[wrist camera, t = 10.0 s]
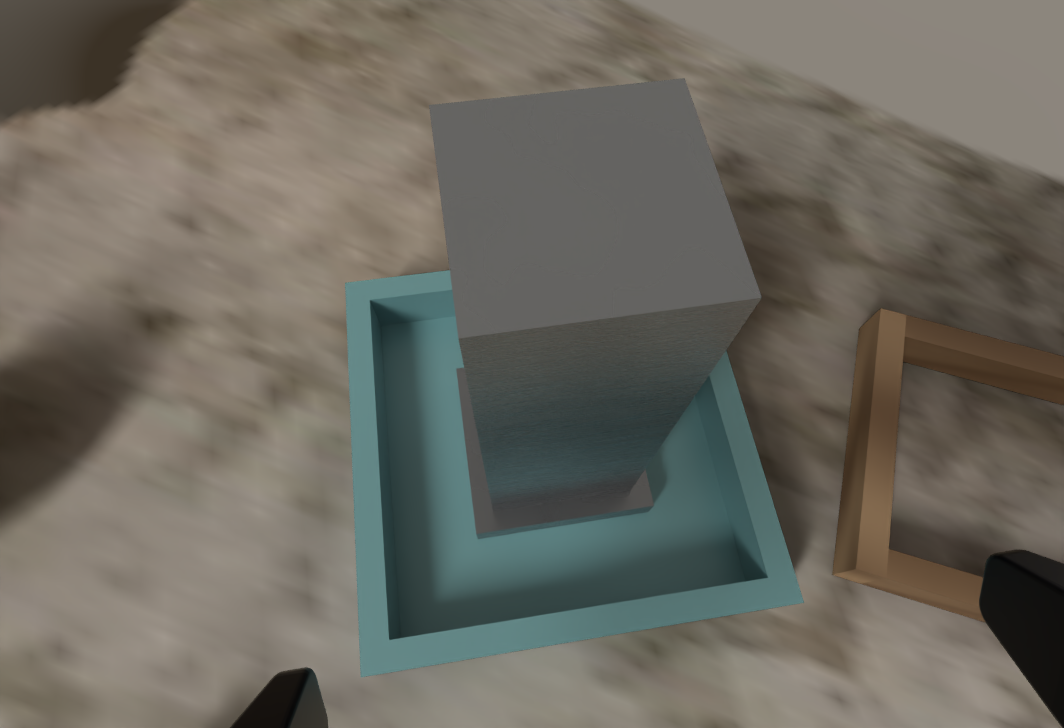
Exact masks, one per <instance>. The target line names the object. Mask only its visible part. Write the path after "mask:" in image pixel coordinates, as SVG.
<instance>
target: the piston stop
mask: <svg viewBox="0 0 1064 728" xmlns="http://www.w3.org/2000/svg"><path fill="white" fill-rule="evenodd" d="M429 108H430V116H431V124H432V132H433V140H434V148H435V156H436V164H437V172H438V180H439V188H440V196H441V204H442V212H443V220H444V228H445V236H446V244H447V252H448V260H449V268H450V276H451V284H452V292H453V300H454V308H455V316H456V324H457V332H458V339H459V344H460V349H461V354H462V359H463V364H464V368H457V369H456V371H457V379H458V388H459V396H460V404H461V412H462V421H463V429H464V437H465V446H466V454H467V462H468V470H469V479H470V487H471V495H472V503H473V512H474V520H475V528H476V535H477V537H478V539H483V538H489V537H496V536H502V535H508V534H515V533H521V532H527V531H533V530H540V529H546V528H552V527H558V526H565V525H571V524H577V523H583V522H590V521H596V520H602V519H608V518H615V517H621V516H627V515H634V514H640V513H646V512H649V511H650V510H651V509H652V508H653V506H654V503H653V499H652V495H651V491H650V486H649V482H648V478H647V474H646V467H647V466H648V464H649V463H650V461H651V460H652V459H653V457H654V456H655V454H656V453H657V451H658V450H659V448H660V447H661V445H662V444H663V442H664V441H665V439H666V438H667V436H668V435H669V434H670V432H671V431H672V429H673V428H674V426H675V425H676V423H677V422H678V420H679V419H680V417H681V416H682V414H683V413H684V411H685V410H686V409H687V407H688V406H689V404H690V403H691V401H692V400H693V398H694V397H695V395H696V394H697V392H698V391H699V389H700V388H701V386H702V385H703V384H704V382H705V381H706V379H707V378H708V376H709V375H710V373H711V372H712V370H713V369H714V367H715V366H716V364H717V363H718V361H719V360H720V359H721V357H722V356H723V354H724V353H725V351H726V350H727V348H728V347H729V345H730V344H731V342H732V341H733V339H734V338H735V336H736V335H737V333H738V332H739V331H740V329H741V328H742V326H743V325H744V323H745V322H746V320H747V319H748V317H749V316H750V314H751V313H752V311H753V310H754V308H755V307H756V306H757V304H758V303H759V301H760V300H761V298H762V297H761V294H760V291H759V288H758V285H757V282H756V280H755V277H754V274H753V271H752V268H751V265H750V263H749V260H748V257H747V254H746V251H745V248H744V246H743V243H742V240H741V237H740V234H739V231H738V229H737V226H736V223H735V220H734V217H733V214H732V212H731V209H730V206H729V203H728V200H727V197H726V195H725V192H724V189H723V186H722V183H721V180H720V178H719V175H718V172H717V169H716V166H715V163H714V161H713V158H712V155H711V152H710V149H709V146H708V144H707V141H706V138H705V135H704V132H703V129H702V127H701V124H700V121H699V118H698V115H697V112H696V110H695V107H694V104H693V101H692V98H691V95H690V93H689V90H688V87H687V84H686V81H685V78H683V79H673V80H664V81H654V82H645V83H635V84H626V85H616V86H607V87H597V88H588V89H578V90H569V91H559V92H550V93H540V94H531V95H521V96H512V97H502V98H493V99H483V100H474V101H464V102H455V103H445V104H436V105H429Z"/></svg>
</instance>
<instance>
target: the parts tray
mask: <svg viewBox="0 0 1064 728" xmlns="http://www.w3.org/2000/svg"><path fill="white" fill-rule="evenodd" d="M345 289H346V315H347V340H348V366H349V391H350V417H351V442H352V467H353V493H354V518H355V544H356V569H357V595H358V620H359V646H360V671H361V677H366V676H372V675H378V674H384V673H390V672H396V671H402V670H408V669H414V668H420V667H426V666H432V665H438V664H444V663H449V662H455V661H461V660H467V659H473V658H479V657H485V656H491V655H497V654H503V653H509V652H515V651H521V650H527V649H533V648H539V647H544V646H550V645H556V644H562V643H568V642H574V641H580V640H586V639H592V638H598V637H604V636H610V635H616V634H622V633H628V632H634V631H640V630H645V629H651V628H657V627H663V626H669V625H675V624H681V623H687V622H693V621H699V620H705V619H711V618H717V617H723V616H729V615H735V614H740V613H746V612H752V611H758V610H764V609H770V608H776V607H782V606H788V605H793V604H799V603H804V601H803V598H802V595H801V591H800V588H799V585H798V582H797V578H796V575H795V572H794V569H793V565H792V562H791V559H790V556H789V552H788V549H787V546H786V543H785V539H784V536H783V533H782V530H781V526H780V523H779V520H778V517H777V513H776V510H775V507H774V504H773V500H772V497H771V494H770V491H769V488H768V484H767V481H766V478H765V475H764V471H763V468H762V465H761V462H760V458H759V455H758V452H757V449H756V445H755V442H754V439H753V436H752V432H751V429H750V426H749V423H748V419H747V416H746V413H745V410H744V406H743V403H742V400H741V397H740V393H739V390H738V387H737V384H736V380H735V377H734V374H733V371H732V367H731V364H730V361H729V358H728V354H727V351H725V353H724V354H723V356H722V357H721V359H720V360H719V361H718V363H717V364H716V366H715V367H714V369H713V370H712V372H711V373H710V375H709V376H708V378H707V379H706V381H705V382H704V384H703V385H702V386H701V388H700V389H699V391H698V392H697V394H696V395H695V397H694V398H693V400H692V401H691V403H690V404H689V406H688V407H687V409H686V410H685V411H684V413H683V414H682V416H681V417H680V419H679V420H678V422H677V423H676V425H675V426H674V428H673V429H672V431H671V432H670V434H669V435H668V436H667V438H666V439H665V441H664V442H663V444H662V445H661V447H660V448H659V450H658V451H657V453H656V454H655V456H654V457H653V459H652V460H651V461H650V463H649V464H648V466H647V467H646V474H647V478H648V482H649V486H650V491H651V495H652V499H653V503H654V506H653V508H652V509H651V510H650V511H649V512H646V513H640V514H634V515H627V516H621V517H615V518H608V519H602V520H596V521H590V522H583V523H577V524H571V525H565V526H558V527H552V528H546V529H540V530H533V531H527V532H521V533H515V534H508V535H502V536H496V537H489V538H483V539H478V537H477V535H476V528H475V520H474V512H473V503H472V495H471V487H470V479H469V470H468V462H467V454H466V446H465V437H464V429H463V421H462V412H461V404H460V396H459V388H458V379H457V371H456V369H457V368H464V364H463V359H462V354H461V349H460V344H459V339H458V332H457V324H456V316H455V308H454V300H453V292H452V284H451V276H450V270H447V271H439V272H431V273H423V274H414V275H406V276H398V277H390V278H381V279H373V280H365V281H357V282H348V283H345Z"/></svg>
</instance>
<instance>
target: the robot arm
mask: <svg viewBox="0 0 1064 728" xmlns="http://www.w3.org/2000/svg"><path fill="white" fill-rule="evenodd" d="M979 608H980V612H981V614H982V617H983V619H984V620H985V622H986V624H987V625H988V626H989V628H990V629H991V631H992V632H993V633H994V635H995V636H996V637H997V639H998V640H999V642H1000V643H1001V644H1002V646H1003V647H1004V649H1005V650H1006V651H1007V653H1008V654H1009V655H1010V657H1011V658H1012V660H1013V661H1014V662H1015V664H1016V665H1017V666H1018V668H1019V669H1020V671H1021V672H1022V673H1023V675H1024V676H1025V677H1026V679H1027V680H1028V682H1029V683H1030V684H1031V686H1032V687H1033V689H1034V690H1035V691H1036V693H1037V694H1038V695H1039V697H1040V698H1041V700H1042V701H1043V702H1044V704H1045V705H1046V706H1047V708H1048V709H1049V711H1050V712H1051V713H1052V715H1053V716H1054V717H1055V719H1056V720H1057V721H1058V723H1059V724H1060V725H1061V727H1062V728H1064V564H1063V563H1060V562H1057V561H1054V560H1052V559H1049V558H1046V557H1043V556H1040V555H1038V554H1035V553H1032V552H1029V551H1026V550H1012V551H1005V552H999V553H994V554H992V555H991V556H990V557H989V558H988V559H987V561H986V565H985V570H984V575H983V581H982V586H981V592H980V597H979ZM230 728H328V719H327V714H326V710H325V706H324V703H323V699H322V696H321V692H320V689H319V685H318V682H317V678H316V675H315V673H314V672H313V670H312V669H310V668H300V669H294V670H288V671H282V672H280V673H278V674H276V675H275V676H274V677H273V678H272V679H271V680H270V681H269V683H268V684H267V685H266V686H265V687H264V688H263V690H262V691H261V692H260V693H259V694H258V695H257V697H256V698H255V699H254V700H253V701H252V702H251V704H250V705H249V706H248V707H247V708H246V709H245V711H244V712H243V713H242V714H241V715H240V716H239V718H238V719H237V720H236V721H235V722H234V723H233V724H232V726H231V727H230Z"/></svg>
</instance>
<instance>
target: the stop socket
mask: <svg viewBox="0 0 1064 728" xmlns="http://www.w3.org/2000/svg"><path fill="white" fill-rule="evenodd" d="M903 362H906V363H910V364H914V365H918V366H921V367H925V368H929V369H932V370H936V371H940V372H943V373H947V374H951V375H954V376H958V377H962V378H966V379H969V380H973V381H977V382H980V383H984V384H988V385H991V386H995V387H999V388H1002V389H1006V390H1010V391H1013V392H1017V393H1021V394H1025V395H1028V396H1032V397H1036V398H1039V399H1043V400H1047V401H1050V402H1054V403H1058V404H1061V405H1064V356H1060V355H1056V354H1053V353H1049V352H1045V351H1041V350H1037V349H1034V348H1030V347H1026V346H1022V345H1018V344H1015V343H1011V342H1007V341H1003V340H999V339H996V338H992V337H988V336H984V335H980V334H977V333H973V332H969V331H965V330H961V329H958V328H954V327H950V326H946V325H942V324H939V323H935V322H931V321H927V320H923V319H920V318H916V317H912V316H908V315H904V314H901V313H897V312H893V311H889V310H885V309H882V308H881V309H880V310H879V311H877V312H876V313H875V314H874V315H873V316H872V317H871V318H870V319H869V320H868V321H867V322H866V323H865V324H864V325H863V326H862V327H861V328H860V329H859V336H858V345H857V354H856V363H855V373H854V382H853V391H852V400H851V409H850V418H849V427H848V436H847V446H846V455H845V464H844V473H843V482H842V491H841V500H840V510H839V519H838V528H837V537H836V546H835V555H834V564H833V574H832V575H834V576H838V577H841V578H844V579H847V580H850V581H854V582H857V583H860V584H863V585H867V586H870V587H873V588H876V589H879V590H883V591H886V592H889V593H892V594H896V595H899V596H902V597H905V598H908V599H912V600H915V601H918V602H921V603H925V604H928V605H931V606H934V607H937V608H941V609H944V610H947V611H950V612H954V613H957V614H960V615H963V616H966V617H970V618H973V619H976V620H979V621H983V622H985V620H984V619H983V617H982V614H981V612H980V608H979V597H980V592H981V586H982V581H983V577H980V576H977V575H973V574H970V573H967V572H964V571H960V570H957V569H954V568H950V567H947V566H944V565H940V564H937V563H934V562H931V561H927V560H924V559H921V558H917V557H914V556H911V555H908V554H904V553H901V552H898V551H894V550H891V549H889V538H890V525H891V511H892V498H893V485H894V472H895V458H896V445H897V432H898V419H899V406H900V392H901V379H902V366H903Z"/></svg>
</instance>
